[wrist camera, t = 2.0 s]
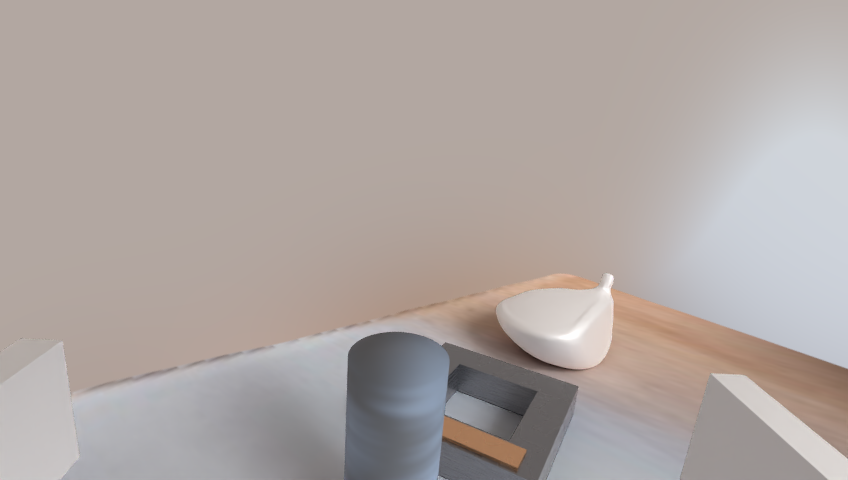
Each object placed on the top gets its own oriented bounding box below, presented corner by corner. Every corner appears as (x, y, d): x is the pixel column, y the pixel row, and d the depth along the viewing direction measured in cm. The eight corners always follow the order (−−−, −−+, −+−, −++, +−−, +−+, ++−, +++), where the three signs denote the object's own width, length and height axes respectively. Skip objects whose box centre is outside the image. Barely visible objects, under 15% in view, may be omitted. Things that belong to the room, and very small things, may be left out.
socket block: (443, 367, 43) (445, 340, 42) (573, 413, 38) (578, 384, 37) (368, 441, 33) (370, 408, 32) (530, 518, 28) (536, 481, 27)
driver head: (660, 280, 45) (566, 236, 41) (632, 391, 44) (532, 357, 39) (581, 275, 55) (498, 238, 50) (556, 365, 53) (468, 336, 48)
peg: (427, 524, 27) (445, 334, 23) (431, 606, 23) (454, 388, 19) (347, 522, 27) (353, 329, 23) (336, 605, 22) (341, 383, 19)
